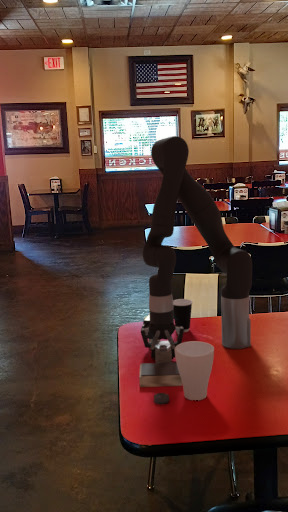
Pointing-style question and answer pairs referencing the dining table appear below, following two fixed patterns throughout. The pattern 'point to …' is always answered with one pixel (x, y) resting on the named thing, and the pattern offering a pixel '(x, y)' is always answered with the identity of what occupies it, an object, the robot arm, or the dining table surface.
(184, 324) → the dixie cup
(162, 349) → the block
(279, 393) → the dining table surface
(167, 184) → the robot arm
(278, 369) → the dining table surface
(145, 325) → the pneumatic valve
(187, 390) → the cup
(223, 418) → the dining table surface
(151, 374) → the stand
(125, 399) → the dining table surface
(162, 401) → the black cap
